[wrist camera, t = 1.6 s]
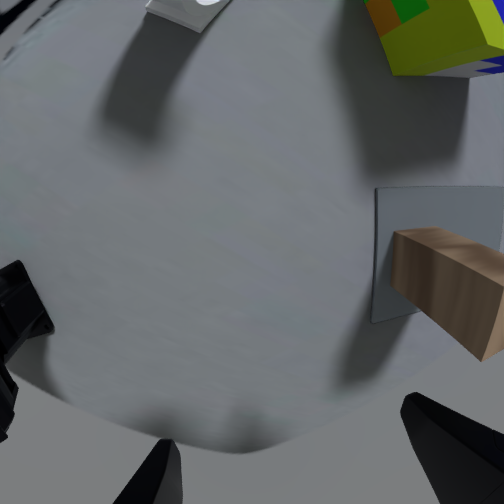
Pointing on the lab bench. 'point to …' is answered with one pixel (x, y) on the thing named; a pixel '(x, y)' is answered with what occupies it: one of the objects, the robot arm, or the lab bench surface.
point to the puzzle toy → (441, 36)
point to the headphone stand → (187, 11)
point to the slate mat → (427, 215)
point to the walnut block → (453, 285)
